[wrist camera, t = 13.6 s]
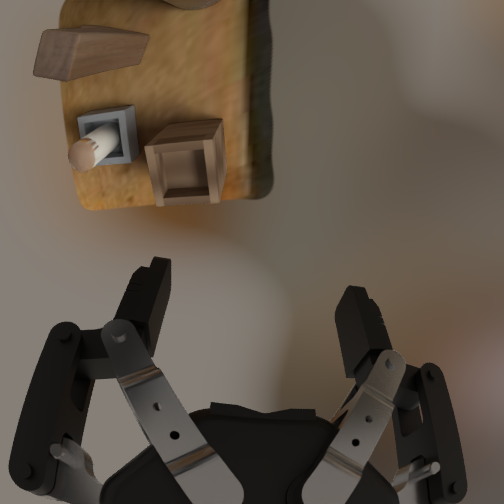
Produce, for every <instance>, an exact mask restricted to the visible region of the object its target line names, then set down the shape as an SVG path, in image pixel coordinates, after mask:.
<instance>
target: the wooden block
mask: <svg viewBox="0 0 504 504" xmlns="http://www.w3.org/2000/svg"><path fill="white" fill-rule="evenodd" d="M148 40H149V35H147V34H143V33H138V32H133V31H127V30H122V29H116V28H110V27H103V26H93V25H83V26H81V27H80V28H70V29H49V30H45V31H43V33H42V36H41V40H40V44H39V48H38V52H37V56H36V61H35V65H34V70H33V75H34V76H37V77H43V78H49V79H54V80H60V81H65V82H67V81H70V80H74V79H77V78H81V77H84V76H88V75H92V74H96V73H100V72H104V71H109V70H113V69H118V68H123V67H128V66H133V65H138V64H140V63H141V60H142V57H143V54H144V51H145V48H146V46H147V43H148Z"/></svg>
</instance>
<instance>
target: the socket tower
mask: <svg viewBox="0 0 504 504" xmlns="http://www.w3.org/2000/svg"><path fill="white" fill-rule="evenodd" d="M144 148H145V153H146V158H147V163H148V168H149V173H150V178H151V183H152V187H153V192H154V197H155V201H156V205H157V206H171V205H187V204H205V203H219V202H220V198H221V193H222V189H223V185H224V181H225V176H226V172H227V163H226V152H225V140H224V128H223V119H215V120H203V121H193V122H184V123H175V124H168V125H167V126H166V127H165V128H164V129H163V130H162V131H160V132H159V133H158V134H157V135H156V136H155V137H154V138H153V139H152V140H151V141H150V142H149V143H148V144H147V145H146V146H144Z"/></svg>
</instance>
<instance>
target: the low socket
mask: <svg viewBox="0 0 504 504" xmlns="http://www.w3.org/2000/svg"><path fill="white" fill-rule="evenodd" d="M77 119H78V126H79V133H80V139H81V138H83V137H85V136H86V135H88V134H89V133H91V132H92V131H94V130H96V129H97V128H99V127H100V126H102V125H104V124H105V123H107V122H115V123H117V124H119V126H120V134H121V141H122V143H121V144H120V145H119V146H117V147H116V148H115V149H114V150H113V151H111V152H110V153H109V154H108V155H107V156H106V157H104V158H103V159H102V160H101V161H100V162H99V163H97V164H96V165H95V166H97V165H109V164H122V163H132V162H133V160H134V159H135V158H136V157H137V156H138V155H139V154H140V153H139V145H138V137H137V127H136V118H135V107H134V105H130V106H122V107H115V108H108V109H102V110H96V111H90V112H87V113H85V114H83V115H81V116H79V117H77Z"/></svg>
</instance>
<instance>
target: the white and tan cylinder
mask: <svg viewBox="0 0 504 504" xmlns="http://www.w3.org/2000/svg"><path fill="white" fill-rule="evenodd" d="M121 143H122V141H121V134H120V126H119V124H117V123H115V122H107V123H105V124H104V125H102V126H100V127H99V128H97V129H96V130H94V131H92V132H91V133H89V134H88V135H86V136H85V137H83V138H81V139H80V140H78V141H77V142H75V143H74V144H73V145H72V146H71V147H70V149H69V152H68V158H69V162H70V164H71V166H72V167H73V168H74V169H75V170H77V171H79V172H87V171H89V170H91V169H92V168H93V167H94V166H95V165H96V164H97V163H99V162H100V161H101V160H102V159H103V158H104V157H106V156H107V155H108V154H109V153H110V152H111V151H113V150H114V149H115V148H116V147H117V146H119V145H120V144H121Z"/></svg>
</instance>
